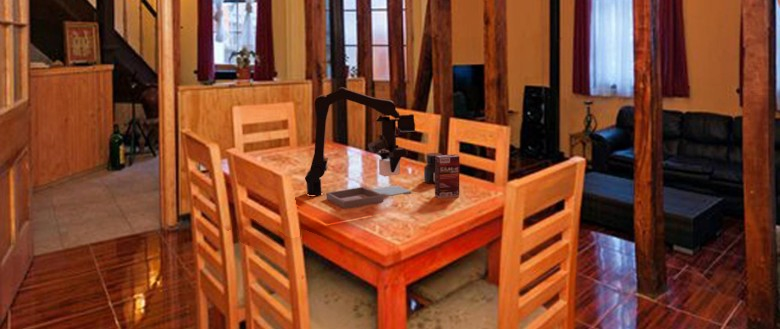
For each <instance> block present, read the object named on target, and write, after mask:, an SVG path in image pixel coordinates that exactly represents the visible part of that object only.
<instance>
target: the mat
mask: <svg viewBox="0 0 780 329" xmlns="http://www.w3.org/2000/svg"><path fill="white" fill-rule="evenodd" d="M370 190H372V191H374V192H376V193H379V194H381V195H383V198H384V197H385V198H386V197H390V196H396V195H408V194H409V195H410V194H412V191H411V190H409V189H407V188H404V187H402V186H400V185H397V184H396V185H390V186H389V185H388V186H384V187H383V186H382V187H379V188H372V189H370Z"/></svg>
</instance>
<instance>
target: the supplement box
mask: <svg viewBox="0 0 780 329" xmlns="http://www.w3.org/2000/svg"><path fill="white" fill-rule="evenodd" d="M434 196H435V197H436V198H438V199H445V198H456V197H460V156H459V155H457V154H455V153H454V154H444V155H443V154H442V155H441V156H435V184H434Z"/></svg>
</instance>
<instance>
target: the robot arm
mask: <svg viewBox="0 0 780 329" xmlns="http://www.w3.org/2000/svg"><path fill="white" fill-rule="evenodd" d="M342 99H344V100H347V101H350V102H354V103H356V104H359V105H363V106H366V107H369V108H371V109H373V110H375V111H376V112H378V113H380V114H379V115H378V117H377V118H375V119H376V122H377V123H378V122H380V128H381V129H380V130H381V131H380V132H381V134H379V135H378V138H377V139H375V140H374V141H372V142H370V143H368V144H367V147H368V150H369V152H370V153H373V154H376V155H377V156H378V157H380V159H389V160H390V167H391V172H394V171H395V169H396V167H397V165H398V162H399V161H400V162H401V158H402V157H408V150H407V149H406V148H404V147H399V144H397V139H398V138H399V135H398V134H397V130H399V132H400V133H409V132H415V129H416V123H415V115H414V114H413V113H411V114H410V113H409V114H400V112H399V111H398V110H396V104H395V102H394V101H393V100H391V99H387V98H386V99H385V98H378V97H373V96H369V95H367V94H362V93H360V92H356V91H355V90H354V91H353V90H351V89H347V88H346V87H341V86H340V87H339V88H338V89H336V90H334V91H332V92H330V93H328V94H320V95H319V96H317V97H316V99H315V100H314V110H315V112H314V113H315V117H316V123H315V126H316V127H315V139H314V152H313V153H314V154H313V157H312V161H311V164H310V169H309V171H308V172H307V173H306V174H305V176H304V180H305V182H306V193H307V194H309V195H320V196H322V195H321V193H323V192H322V179H321V178H322V177H323V176H324V175H325V173H326V172H327V170H328V168H329V167H328V160H329V157H325V144H326V130H327V119H328V115H329V111H330V107H331V105H333V104H334V103H336V102H338V101H340V100H342ZM382 115H384V116H382ZM391 117H392V118H391Z"/></svg>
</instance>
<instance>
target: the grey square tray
mask: <svg viewBox="0 0 780 329" xmlns="http://www.w3.org/2000/svg"><path fill="white" fill-rule="evenodd" d="M325 196H326V200H327V199H328V200H327V201H329V200H330V201H329V202H331V203H332V202H333V204H334V203H335V204H334V205H336V206H338V207H340V208H341V209H344V210H347V209H352V208H358V207H363V206H368V205H375V204H380V203H383V202H384V196H383V195H381V194H379V193H376V192H374V191H372V190H371V189H370V188H367V187H365V186H361V187H354V188H348V189H343V190H341V189H340V190H337V191H336V190H335V191H330V192H326V193H325Z"/></svg>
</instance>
